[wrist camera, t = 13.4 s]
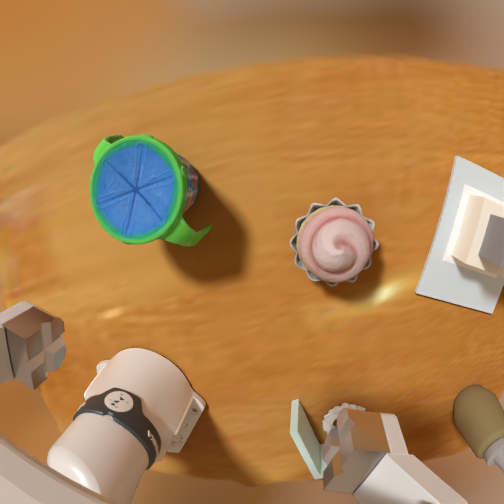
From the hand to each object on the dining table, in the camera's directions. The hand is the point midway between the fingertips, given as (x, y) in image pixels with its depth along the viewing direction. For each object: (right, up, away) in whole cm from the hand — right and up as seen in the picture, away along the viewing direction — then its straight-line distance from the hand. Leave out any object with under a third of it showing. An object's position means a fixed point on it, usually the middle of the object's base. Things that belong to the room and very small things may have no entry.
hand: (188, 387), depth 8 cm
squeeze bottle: (+37, -20, +33) cm, 54 cm away
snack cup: (-8, +12, +31) cm, 34 cm away
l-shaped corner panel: (+15, -21, +36) cm, 45 cm away
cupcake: (+11, +6, +30) cm, 32 cm away
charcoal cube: (+31, +5, +22) cm, 38 cm away
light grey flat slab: (+31, +5, +27) cm, 41 cm away
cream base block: (+31, +6, +26) cm, 41 cm away
